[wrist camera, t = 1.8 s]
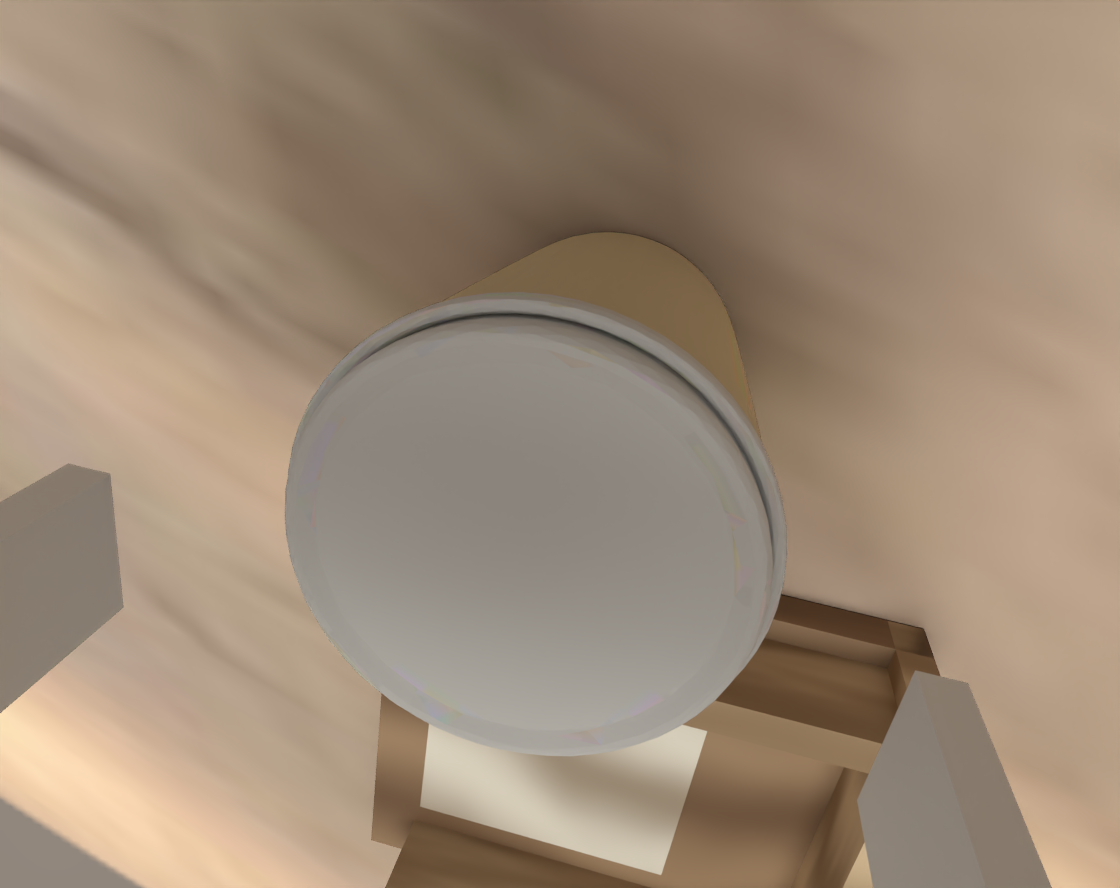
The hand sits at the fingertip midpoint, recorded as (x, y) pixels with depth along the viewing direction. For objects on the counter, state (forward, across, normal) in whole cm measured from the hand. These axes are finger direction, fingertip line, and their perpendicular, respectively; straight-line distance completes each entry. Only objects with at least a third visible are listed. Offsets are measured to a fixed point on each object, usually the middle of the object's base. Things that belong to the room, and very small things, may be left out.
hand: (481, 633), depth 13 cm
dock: (+14, +3, -14) cm, 20 cm away
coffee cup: (+14, 0, 0) cm, 14 cm away
